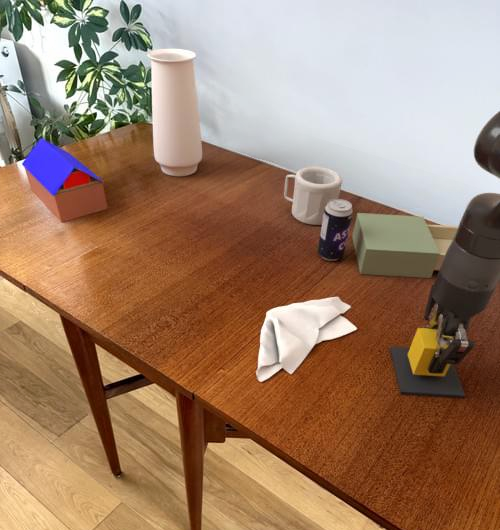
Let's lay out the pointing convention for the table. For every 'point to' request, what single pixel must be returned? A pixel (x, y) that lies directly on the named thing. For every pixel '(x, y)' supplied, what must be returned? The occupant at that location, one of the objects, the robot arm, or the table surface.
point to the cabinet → (394, 245)
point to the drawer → (442, 239)
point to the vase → (175, 111)
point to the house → (63, 182)
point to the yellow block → (424, 351)
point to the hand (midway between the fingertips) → (430, 359)
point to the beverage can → (335, 229)
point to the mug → (313, 193)
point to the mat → (424, 378)
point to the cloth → (298, 333)
